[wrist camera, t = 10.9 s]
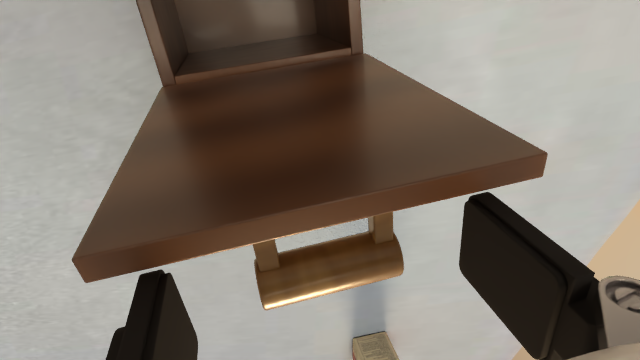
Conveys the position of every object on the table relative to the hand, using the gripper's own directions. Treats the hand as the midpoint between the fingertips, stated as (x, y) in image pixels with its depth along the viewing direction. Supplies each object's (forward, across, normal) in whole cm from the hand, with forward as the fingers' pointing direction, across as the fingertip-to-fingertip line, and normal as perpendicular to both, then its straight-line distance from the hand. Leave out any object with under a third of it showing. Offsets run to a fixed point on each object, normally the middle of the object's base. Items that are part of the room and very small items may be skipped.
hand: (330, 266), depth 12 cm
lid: (+7, 0, -3) cm, 8 cm away
